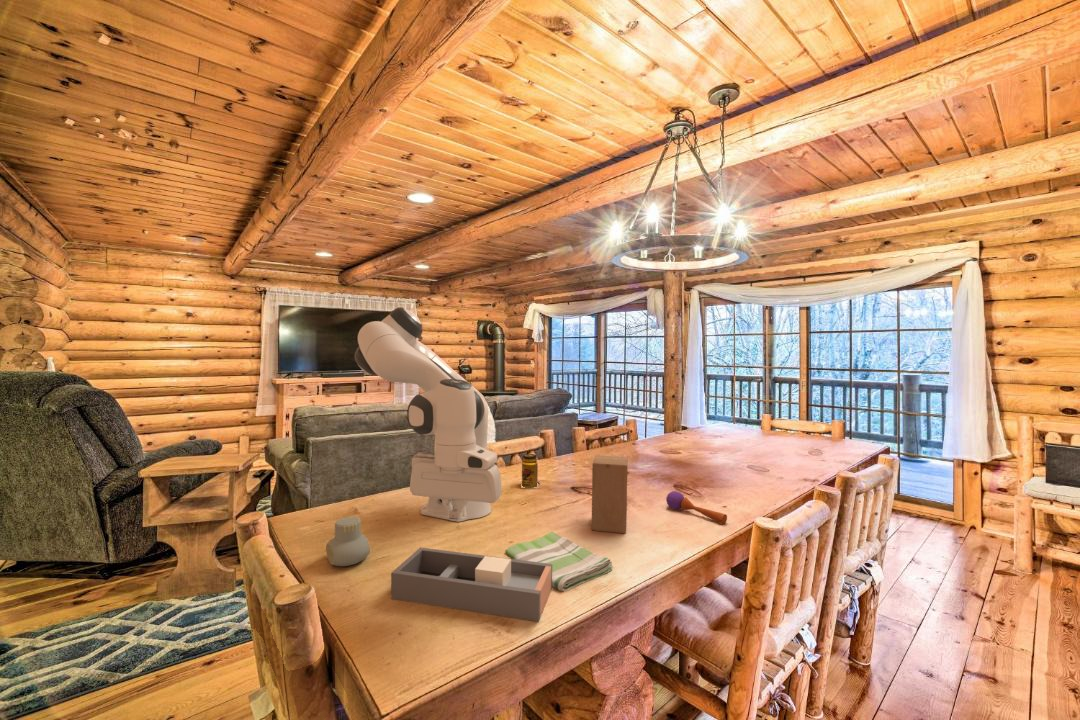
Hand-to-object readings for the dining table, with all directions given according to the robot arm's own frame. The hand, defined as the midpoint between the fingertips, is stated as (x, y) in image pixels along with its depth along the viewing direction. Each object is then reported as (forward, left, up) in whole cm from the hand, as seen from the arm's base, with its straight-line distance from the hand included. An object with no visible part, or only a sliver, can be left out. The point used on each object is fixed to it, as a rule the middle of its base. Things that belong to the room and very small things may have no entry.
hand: (454, 518), depth 97 cm
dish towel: (+19, +19, -17) cm, 32 cm away
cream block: (+9, 0, -13) cm, 16 cm away
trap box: (+4, 0, -16) cm, 17 cm away
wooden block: (+30, +45, -16) cm, 57 cm away
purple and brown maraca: (+56, +62, -16) cm, 85 cm away
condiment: (-3, +77, -16) cm, 79 cm away
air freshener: (-31, +6, -16) cm, 36 cm away
